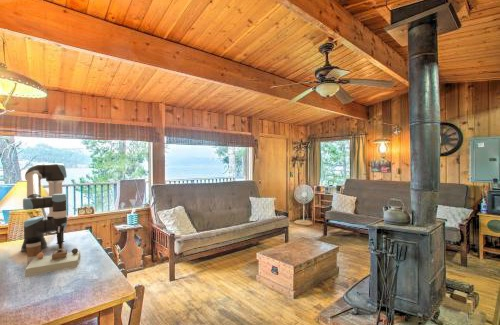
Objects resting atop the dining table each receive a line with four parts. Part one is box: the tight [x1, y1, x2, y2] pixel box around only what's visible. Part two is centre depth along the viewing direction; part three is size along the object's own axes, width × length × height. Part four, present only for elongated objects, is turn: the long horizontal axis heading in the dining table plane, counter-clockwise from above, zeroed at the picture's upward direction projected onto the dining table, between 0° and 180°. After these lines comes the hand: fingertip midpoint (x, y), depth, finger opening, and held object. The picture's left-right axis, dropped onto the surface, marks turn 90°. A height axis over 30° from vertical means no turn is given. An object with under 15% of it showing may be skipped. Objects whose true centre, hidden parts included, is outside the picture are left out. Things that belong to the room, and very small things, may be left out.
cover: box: [51, 248, 68, 259], centre depth 167 cm, size 7×7×4 cm
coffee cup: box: [25, 237, 42, 263], centre depth 173 cm, size 8×8×15 cm
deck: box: [24, 250, 81, 277], centre depth 164 cm, size 20×25×4 cm
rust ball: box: [37, 252, 45, 258], centre depth 166 cm, size 4×4×4 cm
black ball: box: [71, 247, 79, 254], centre depth 173 cm, size 4×4×4 cm
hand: (60, 252), depth 171 cm, fingers closed
